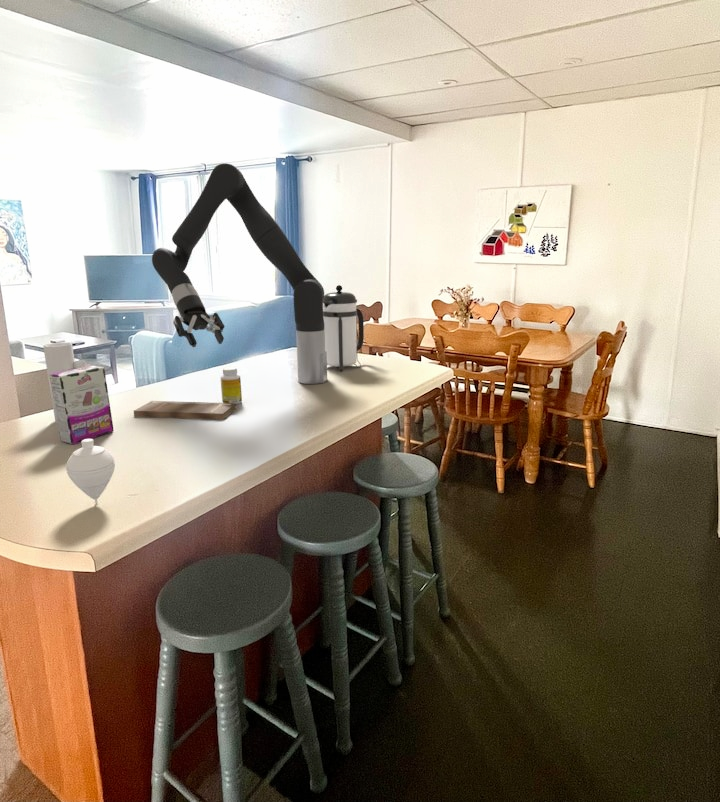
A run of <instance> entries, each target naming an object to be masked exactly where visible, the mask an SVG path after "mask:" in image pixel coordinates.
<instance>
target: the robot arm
mask: <svg viewBox="0 0 720 802" xmlns="http://www.w3.org/2000/svg"><path fill="white" fill-rule="evenodd" d="M225 200H227V201H228V203H230V204H231V206H232V207H233V208H234V210H235V211H236V212H237V213H238V215H239V216H240V218H241V220H242V222H243V224H244V226H245V228H246V230H247V232H248V234H249V236H250V238H251V239H252V241H253V242H254V244H255V245H256V246H257V248H258V249H259V250H260V252H261V254H263V256H264V257H265V258H266V259H267V260H268V261H269V262H270V263H271V264H272V266H274V268H276V269H277V270H278V271H279V272H280V273H281V274H282V275H283V276H284V278H285V279H286V280H287V281H288V283H289V284H290V286H291V288H292V291H293V310H294V311H293V313H294V324H295V327H296V328H295V329H296V330H295V331H296V335H295V336H296V361H297V380H298V382H299V383H300V384H306V385H313V384H314V385H315V384H317V385H318V384H325V382H326V381H327V380H328V365H327V352H326V351H325V333H324V318H323V299H324V296H325V289H324V287H323V286H322V283H320V281H318V279H317V278H316V277H315V276H314V275H313V273H312V272H311V271H310V270H309V269H308V268H307V266H306V265H305V264H304V263H303V261H302V260H301V258H300V256H299V254H298V253H297V251H296V249H295V248H294V246H293V245H292V243H291V242H290V240H289V239H288V237H287V235H286V234H285V232H284V231H283V229H281V227H280V226H279V225H278V223H277V222H276V220H275V219H274V218H273V217H272V216H271V214H270V213H269V212H268V211H267V210H266V208H265V207H264V206H263V205H262V204H261V203H260V201H259V200H258V198H257V197H256V196H255V194H254V193H253V191H252V189H251V187H250V186H249V184H248V183H247V181H246V179H245V177H244V175H243V173H242V172H241V170H240V169H239V168H237V167H236V166H235V165H233V164H231V163H228V162H222V163H219V164H217V165H216V166H214V167H213V169H212V171H211V173H210V175H209V177H208V179H207V182H206V183H205V186H204V188H203V189H202V191H201V193H200V194H199V197H198V198H197V200H196V202H195V203H194V205H193V207H192V208H191V210H190V211H189V212H188V214H187V216H186V217H185V218H184V219H183V221H182V222H181V224H180V225H179V226H178V227H177V230H176V231H175V232H174V234H173V235H172V238H171V241H172V242H173V243H174V245H175V246H176V249H175V251H172V250H170V249H168V248H165V247H159V248H157V249H155V250H154V252H153V253H152V256H151V262H152V266H153V268H154V270H155V271H156V273H157V274H158V276H159V277H160V278H161V279H162V280H163V282H164V283H165V284H166V285H167V288H168V290H169V292H170V294H171V297H172V301H173V303H174V305H175V307H176V308H177V310H178V313H179V315H180V317H179V316H178V315H175V317H174V318H173V325H174V328H175V331H176V333H177V336H178V337H179V338H182V337H185V338H186V340H187V342H188V344H189V345H190V346H191V347H192V348H196V347H197V344H198V342H197V340H196V337H195V336H194V334H193V333H192V330H193V331H199V330H200V331H201V330H206V331H207V332H210V333H212V334H213V335H214V337H215V339H216V341H217V343H218V345H222V343H223V342H224V339H225V338H224V336H223V334H222V333H223V331H224V329H225V324H224V323H223V321H222V319H221V318H220V316H219V313H217V312H214V313H213V314H209V313H207V311H206V308H205V305H204V304H203V301H202V300H201V298H200V295H199V294H198V292H197V291H198V290H197V289H195V287H194V285H193V283H192V281H191V279H190V277H189V275H188V274H187V273H186V272H185V270H186V268H187V266H188V264H189V260H190V258H191V255H192V254H193V253H192V252H193V250H194V248H195V247H196V246H197V244H198V243H199V242H200V240H201V239H202V238H203V236H204V234H205V233H206V231H207V229H208V227H209V224H210V223H211V220H212V218H213V217H214V215H215V213H216V212H217V210H218V208H219V207H220V206H221V205H222V203H223V202H224V201H225ZM183 324H184V325H186V326H188V327H187V330H185V328H184V325H183ZM208 325H209V326H208Z"/></svg>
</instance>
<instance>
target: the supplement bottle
mask: <svg viewBox="0 0 720 802" xmlns="http://www.w3.org/2000/svg"><path fill="white" fill-rule="evenodd" d="M241 380H242V379H241V375H240V374H239V373H238V368H237V367H234V366H230V367H229V366H228V367H224V368H223V369H222V375H220V388H221V389H220V390H221V401H222V402H221V403H236V405H239V404H241V403H242V401H243V396H242V382H241Z"/></svg>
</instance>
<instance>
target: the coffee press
mask: <svg viewBox="0 0 720 802" xmlns="http://www.w3.org/2000/svg"><path fill="white" fill-rule="evenodd" d="M335 289H336V292H335V291H333V292H328V293H325V294H324V299H323V318H324V333H325V351H326V352H327V366H331V367H338V368H339V370H340V371H339V370H338V371H339V372H344V367H349V366H353V365H354V366H356V367H357V366H358V365H357V364H356V363H357V362H358V364H359V366H360V367H361V366H362V365H361V364H362V363H360V361H359V360H358V359H359V358H358V351H359V350H361V349H362V346H363V344H364V339H365V338H364V336H365V335H364V330H365V327H364V326H365V325H364V315H363V313H362V310H360V309H359V308H357V303H358V299H357V298H356V296H355V294H353V293H351V292H347V291H345V292H344V291H343V292H342V290H343V287H342V285H340V284H338V285H337V286H336V288H335ZM357 330H358V336H357Z"/></svg>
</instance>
